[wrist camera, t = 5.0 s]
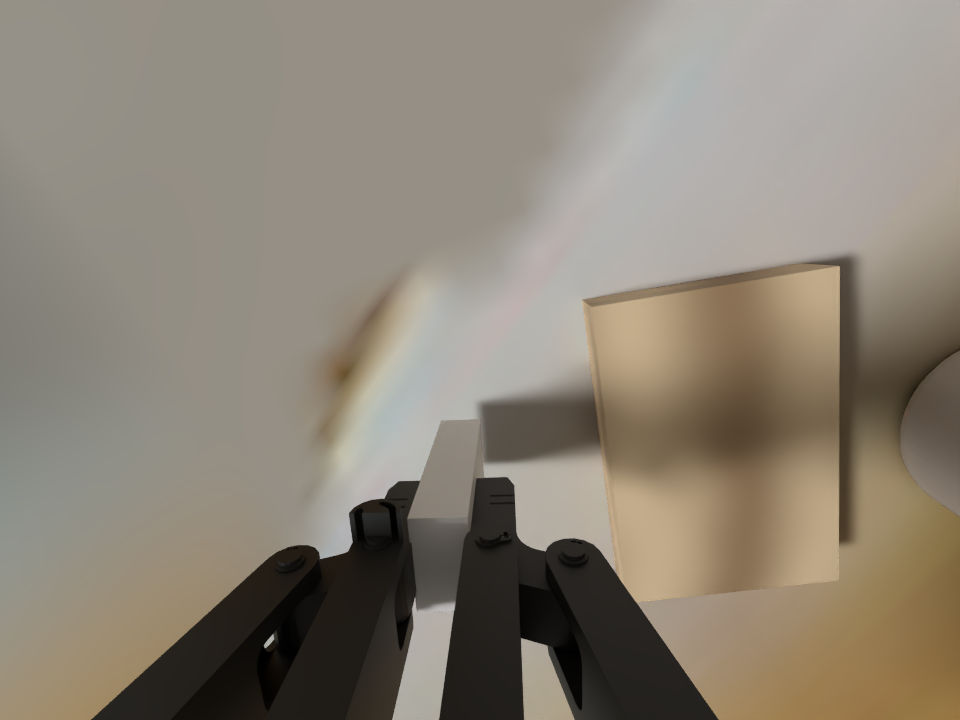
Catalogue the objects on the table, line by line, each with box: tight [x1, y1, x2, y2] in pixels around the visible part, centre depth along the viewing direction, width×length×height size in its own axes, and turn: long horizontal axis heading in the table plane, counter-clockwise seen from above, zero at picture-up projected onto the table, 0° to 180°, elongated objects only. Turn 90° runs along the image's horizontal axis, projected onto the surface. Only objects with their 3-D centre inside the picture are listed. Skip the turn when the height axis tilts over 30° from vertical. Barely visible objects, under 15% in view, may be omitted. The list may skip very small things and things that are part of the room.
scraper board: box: [582, 263, 840, 602], centre depth 18 cm, size 8×12×2 cm, turn 10°
